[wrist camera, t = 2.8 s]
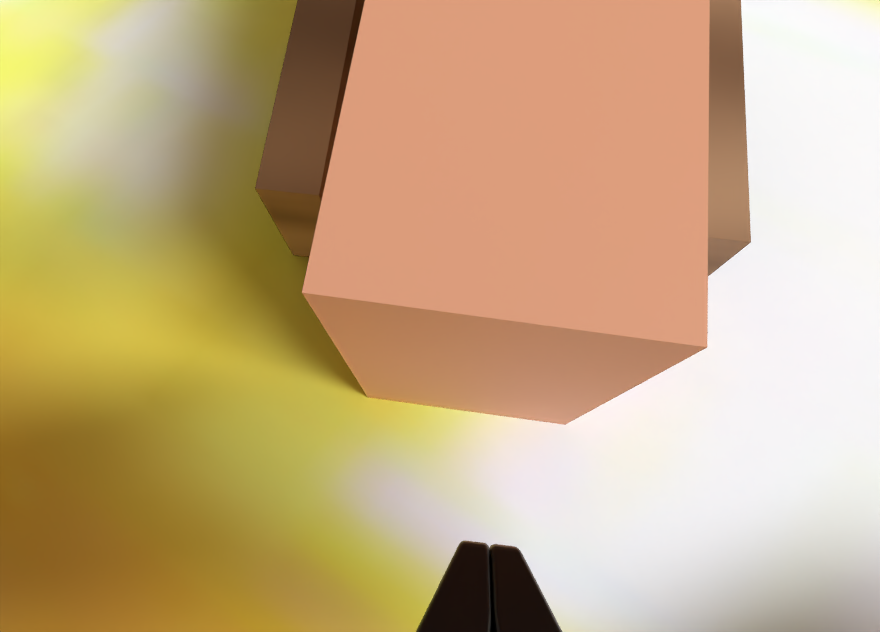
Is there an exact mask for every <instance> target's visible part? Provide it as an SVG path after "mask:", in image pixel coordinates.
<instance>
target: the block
mask: <svg viewBox="0 0 880 632" xmlns="http://www.w3.org/2000/svg"><path fill="white" fill-rule="evenodd" d="M709 24H710V0H365V2H364V7H363V11H362V16H361V21H360V25H359V30H358V34H357V39H356V44H355V48H354V53H353V58H352V62H351V67H350V72H349V76H348V81H347V85H346V90H345V95H344V99H343V104H342V109H341V113H340V118H339V122H338V127H337V132H336V136H335V141H334V146H333V150H332V155H331V160H330V164H329V169H328V173H327V178H326V183H325V187H324V192H323V197H322V201H321V206H320V210H319V215H318V220H317V224H316V229H315V234H314V238H313V243H312V248H311V252H310V257H309V261H308V266H307V271H306V275H305V280H304V285H303V289H302V294H303V295H304V297H305V298H306V300H307V302H308V303H309V305H310V306H311V308H312V310H313V311H314V313H315V314H316V316H317V317H318V319H319V321H320V322H321V324H322V325H323V327H324V329H325V330H326V332H327V333H328V335H329V337H330V338H331V340H332V341H333V343H334V344H335V346H336V348H337V349H338V351H339V352H340V354H341V356H342V357H343V359H344V360H345V362H346V364H347V365H348V367H349V368H350V370H351V371H352V373H353V375H354V376H355V378H356V379H357V381H358V383H359V384H360V386H361V387H362V389H363V390H364V392H365V394H366V395H367V397H370V398H377V399H385V400H392V401H399V402H406V403H413V404H421V405H428V406H435V407H442V408H449V409H457V410H464V411H471V412H478V413H485V414H492V415H500V416H507V417H514V418H521V419H528V420H536V421H543V422H550V423H557V424H564V425H565V424H567V423H569V422H571V421H573V420H574V419H576V418H578V417H580V416H582V415H584V414H585V413H587V412H589V411H591V410H593V409H595V408H596V407H598V406H600V405H602V404H604V403H606V402H608V401H609V400H611V399H613V398H615V397H617V396H619V395H620V394H622V393H624V392H626V391H628V390H630V389H631V388H633V387H635V386H637V385H639V384H641V383H642V382H644V381H646V380H648V379H650V378H652V377H653V376H655V375H657V374H659V373H661V372H663V371H664V370H666V369H668V368H670V367H672V366H674V365H676V364H677V363H679V362H681V361H683V360H685V359H687V358H688V357H690V356H692V355H694V354H696V353H698V352H699V351H701V350H703V349H705V348H707V300H708V162H709Z"/></svg>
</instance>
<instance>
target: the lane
mask: <svg viewBox="0 0 880 632" xmlns="http://www.w3.org/2000/svg"><path fill="white" fill-rule="evenodd" d="M364 2H365V0H298V1H297V6H296V10H295V15H294V19H293V23H292V28H291V32H290V37H289V41H288V45H287V50H286V54H285V59H284V63H283V68H282V72H281V76H280V81H279V85H278V90H277V94H276V99H275V103H274V107H273V112H272V116H271V121H270V125H269V129H268V134H267V138H266V143H265V147H264V152H263V156H262V160H261V165H260V169H259V174H258V178H257V182H256V187H255V189H256V191H257V192H258V194H259V196H260V198H261V200H262V201H263V203H264V205H265V207H266V208H267V210H268V212H269V214H270V215H271V217H272V219H273V221H274V222H275V224H276V226H277V228H278V229H279V231H280V233H281V235H282V236H283V238H284V240H285V242H286V243H287V245H288V247H289V249H290V250H291V252H292V254H293V255H299V256H308V257H310V252H311V248H312V243H313V238H314V234H315V229H316V224H317V220H318V215H319V210H320V206H321V201H322V197H323V192H324V187H325V183H326V178H327V173H328V169H329V164H330V160H331V155H332V150H333V146H334V141H335V136H336V132H337V127H338V122H339V118H340V113H341V109H342V104H343V99H344V95H345V90H346V85H347V81H348V76H349V72H350V67H351V62H352V58H353V53H354V48H355V44H356V39H357V34H358V30H359V25H360V21H361V16H362V11H363V7H364ZM750 242H751V235H750V211H749V187H748V163H747V139H746V115H745V90H744V66H743V42H742V18H741V0H710V24H709V162H708V276H709V275H710V274H712V273H713V272H714V271H715V270H717V269H718V268H719V267H720V266H722V265H723V264H724V263H725V262H727V261H728V260H729V259H730V258H732V257H733V256H734V255H735V254H737V253H738V252H739V251H740V250H742V249H743V248H744V247H745V246H747V245H748V244H749V243H750Z"/></svg>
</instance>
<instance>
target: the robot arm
mask: <svg viewBox="0 0 880 632" xmlns="http://www.w3.org/2000/svg"><path fill="white" fill-rule="evenodd" d="M416 632H562V630H561V628H560V627H559V625H558V623H557V621H556V619H555V617H554V615H553V613H552V611H551V609H550V607H549V605H548V603H547V601H546V599H545V597H544V595H543V593H542V592H541V590H540V588H539V586H538V584H537V582H536V580H535V578H534V576H533V574H532V572H531V570H530V568H529V566H528V564H527V562H526V560H525V559H524V557H523V555H522V553H521V551H520V550H519V549H518V548H517V547H514V546H506V545H498V544H494V545H491V546H490V548H489V546H488V545H487V544H486V543H481V542H472V541H462V542H461V543H460V544H459V546H458V548H457V550H456V552H455V554H454V556H453V558H452V560H451V562H450V564H449V566H448V568H447V570H446V572H445V574H444V576H443V578H442V580H441V582H440V584H439V586H438V588H437V590H436V592H435V594H434V596H433V598H432V600H431V602H430V604H429V606H428V608H427V610H426V612H425V614H424V616H423V618H422V620H421V623H420V625H419V627H418V629H417V631H416Z"/></svg>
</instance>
